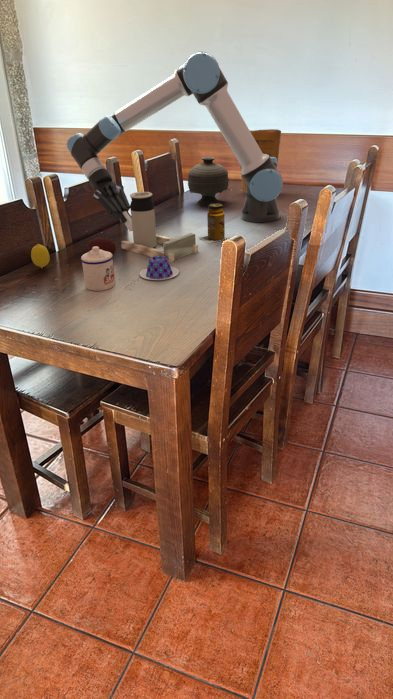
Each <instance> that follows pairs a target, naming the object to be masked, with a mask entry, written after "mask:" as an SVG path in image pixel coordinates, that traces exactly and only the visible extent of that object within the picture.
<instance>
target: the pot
mask: <svg viewBox="0 0 393 699" xmlns="http://www.w3.org/2000/svg"><path fill="white" fill-rule="evenodd" d="M200 159H201V160H202V161H203V162H201V163H198V164H196V165H194V166H193V167H191V168H190V170H188V173H187V186H188V189H189V193H190V194H199V195H201V198H200V199H199V200H198V201H197V203H196V205H198V206H201V207H208V206H209V205H210V204H214V203H219V204H221V201H220V199H217V197H216V195H217V194H221V193H222V192H224V191H227V190H228V188H229V173H228V170H227V168H225V166H223V165H222V164H219V163H216V162H213V161H214V160H215V159H216V157H213V156H202V157H200Z"/></svg>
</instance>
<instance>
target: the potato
mask: <svg viewBox="0 0 393 699" xmlns="http://www.w3.org/2000/svg"><path fill="white" fill-rule="evenodd" d="M95 246H97V247H99V249H101V250H103V251H108V252H110V253H111V254H112V255H113V254H114V253H115V252H116V251H117V245H116V244H115V242H114V241H113V240H112V239H109V238H107V237H101V236H100V237H94V238H92V239H90V240H89V241H88V242H87V249H88V252H89V251H91V250H92V248H93V247H95Z"/></svg>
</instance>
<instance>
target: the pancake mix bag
mask: <svg viewBox="0 0 393 699" xmlns="http://www.w3.org/2000/svg"><path fill="white" fill-rule="evenodd" d="M250 132H251V134H252V136H253V137H254V139H255V141H256V143H257V144H258V146H259V148H260V150H261V151H262V153H263V154H267V155H269V157H275V158H277V163H279V157H280V156H279V154H280V144H281V138H282V136H281V135H282V130H280V129H276V128H274V129H256V130H250ZM239 168H240V170H241V169H242V167H241V165H240V164H239ZM240 178H241V183H242V187H241V188H242V189H241V193H242V194H246V182H245V180H244V179H243V177H242V175H241V174H240Z"/></svg>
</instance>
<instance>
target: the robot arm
mask: <svg viewBox="0 0 393 699" xmlns="http://www.w3.org/2000/svg"><path fill="white" fill-rule="evenodd" d="M228 87H229V82H228V79H226V76H225V75H224V72H223V71H222V69H221V68H220V64H219V63H218V60H217V59H216V58H215V57H214V55H212V54H210V53H208V52H206V51H196V52H195V53H192V54H191V55H190V56H189V57H188V58H186V60H185V61H184V63H183V64H182V65H180V66H179V67H178V68H176V69H175V70H174V73H173V74H172V75H171V76H169V77H168V78H166V79H164V80H163V81H162V82H160V83H158V84H157V85H155V86H153V87H152V88H150V89H149V90H147V91H145V92H144V93H142V94H141V95H139V96H138V97H137V98H134V100H132V101H130V102H129V103H127V104H125V105H124V106H121V108H119V109H118V110H116V111H114V112H113V113H111V114H110V115H109V114H107V115H104V117H102V118H101V119H100V120H99V121H98V122H97V123H96V124H94V125H93V127H91V129H89V130H88V132H86V133H85V134H83V133H81V132H80V133H79V132H78V133H74V135H70V137H69V138H68V139H67V142H66V148H67V150H68V151H69V153H70V155H71V157H72V158H73V159H74V161H75V163H76V164H77V165H78V167H79V168H80V170H81V171H82V173H83V175H84V176H85V178H86V179H87V180H88V182H89V184H90V185H91V188H93V189H94V190H95V192H94V194H93V195H92V198H93V199H95V200H96V201H98V202H99V204H100V205H102V207H103V208H104V209H106V211H107V212H108V213H109V214H110V215H111V216H112V217H116V218H119V220H120V222H121V223H123V224H124V225H125V227H127V229H128V232H133V229H132V219H131V213H130V212H129V211H130V210H131V209H130V203H129V200H128V197H127V195H126V193H125V189H124V188H125V186H124V185H120V186H119V185H117V184H116V182H114V180H113V179H112V175H111V174H110V172H109V171H108V170H107V169H106V167H105V165H104V163H103V162H102V160H101V159H100V158H99V156H98V154H99V153H101V152H102V151H103V150H104V149H105V148H106V147H107V146H109V145H110V144H111V143H112V142H113V141H114V140H116V139H117V138H118V137H119V136H121V135H123V134H124V133H125V132H127V131H129V130H130V129H132V128H133V127H135V126H137V125H138V124H140V123H142V122H144V121H145V120H147V119H148V118H150V117H152V116H153V115H155V114H156V113H158V112H159V111H161V110H163V109H165V108H166V107H168V106H170V105H172V104H173V103H174V102H176V101H178V100H179V99H181V98H183V97H184V96H186V97H190V96H192V95H193V96H194V98H195V101H197V102H198V103H197V104H199V105H200V106H204V107H206V109H207V110H208V112H209V114H210V116H211V117H212V120H213V121H214V123H215V125H216V126H217V127H218V129H219V131H220V132H221V134H222V136H223V138H224V140H225V141H226V143H227V145H228V146H229V148H230V149H231V150H230V151H231V152H232V153H233V155H234V157H235V158H236V160H237V162H238V163H239V166H240V165H241V167H242V169H240V176H241V175H242V177H243V179H244V180H245V182H246V193H245V201H244V203H243V207H242V209H241V219H242V220H244V221H247V222H252V223H268V222H275V221H277V220H279V219H280V216H281V213H280V211H281V210H280V207H279V203H278V201H277V200H278V199H277V197H279V195H280V194H281V192H282V190H283V185H284V184H283V182H284V181H283V177H282V174H281V173H280V172H279V171H278V165H279V162H277V158H275V157H269V155H267V154H263V153H262V151H261V150H260V148H259V146H258V144H257V143H256V141H255V139H254V137H253V136H252V134H251V132H250V131H251V130H250V129H249V127H248V125H247V124H246V121H245V120H244V118H243V116H242V115H241V113H240V111H239V110H238V108H237V105H236V104H235V102H234V100H233V98H232V97H231V95H230V94H229V91H228Z"/></svg>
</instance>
